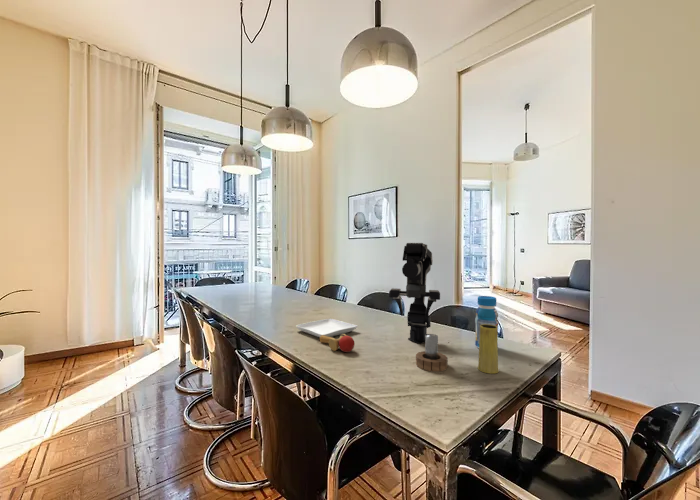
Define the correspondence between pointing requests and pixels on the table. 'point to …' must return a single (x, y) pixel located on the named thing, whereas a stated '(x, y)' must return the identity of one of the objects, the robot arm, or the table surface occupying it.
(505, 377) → the table surface
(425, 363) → the bead ring
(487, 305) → the beverage bottle
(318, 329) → the salad plate
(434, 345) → the grey metal cylinder
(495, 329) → the vase
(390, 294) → the robot arm
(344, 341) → the kendama
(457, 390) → the table surface
